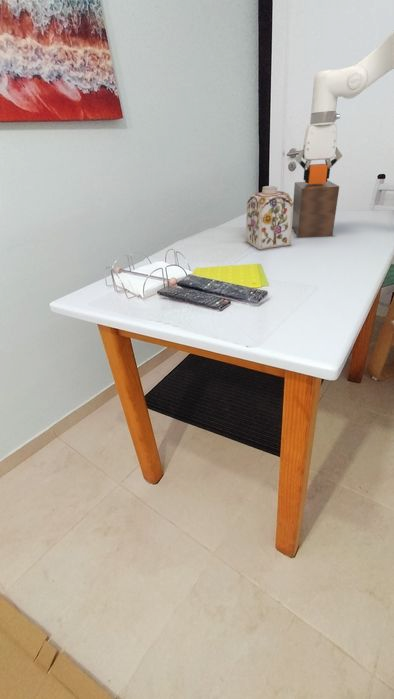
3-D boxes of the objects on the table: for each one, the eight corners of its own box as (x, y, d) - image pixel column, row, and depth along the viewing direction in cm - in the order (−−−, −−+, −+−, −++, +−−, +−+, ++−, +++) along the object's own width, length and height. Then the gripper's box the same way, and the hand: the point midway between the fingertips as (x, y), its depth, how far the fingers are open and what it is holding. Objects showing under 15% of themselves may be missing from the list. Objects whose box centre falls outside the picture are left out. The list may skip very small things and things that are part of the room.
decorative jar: (245, 241, 120) (246, 186, 111) (275, 237, 122) (278, 183, 113) (259, 250, 111) (260, 190, 101) (291, 245, 113) (296, 186, 103)
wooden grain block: (322, 225, 133) (327, 180, 125) (332, 235, 119) (339, 186, 111) (291, 226, 135) (294, 182, 126) (297, 237, 121) (301, 188, 112)
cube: (322, 181, 120) (324, 163, 117) (325, 183, 115) (327, 164, 112) (306, 182, 121) (307, 164, 118) (308, 184, 116) (310, 166, 113)
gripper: (347, 117, 110) (338, 179, 120) (293, 122, 113) (289, 182, 122) (353, 116, 104) (344, 181, 114) (296, 121, 106) (292, 184, 116)
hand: (315, 181), depth 118 cm, fingers closed on cube, 5 cm apart
